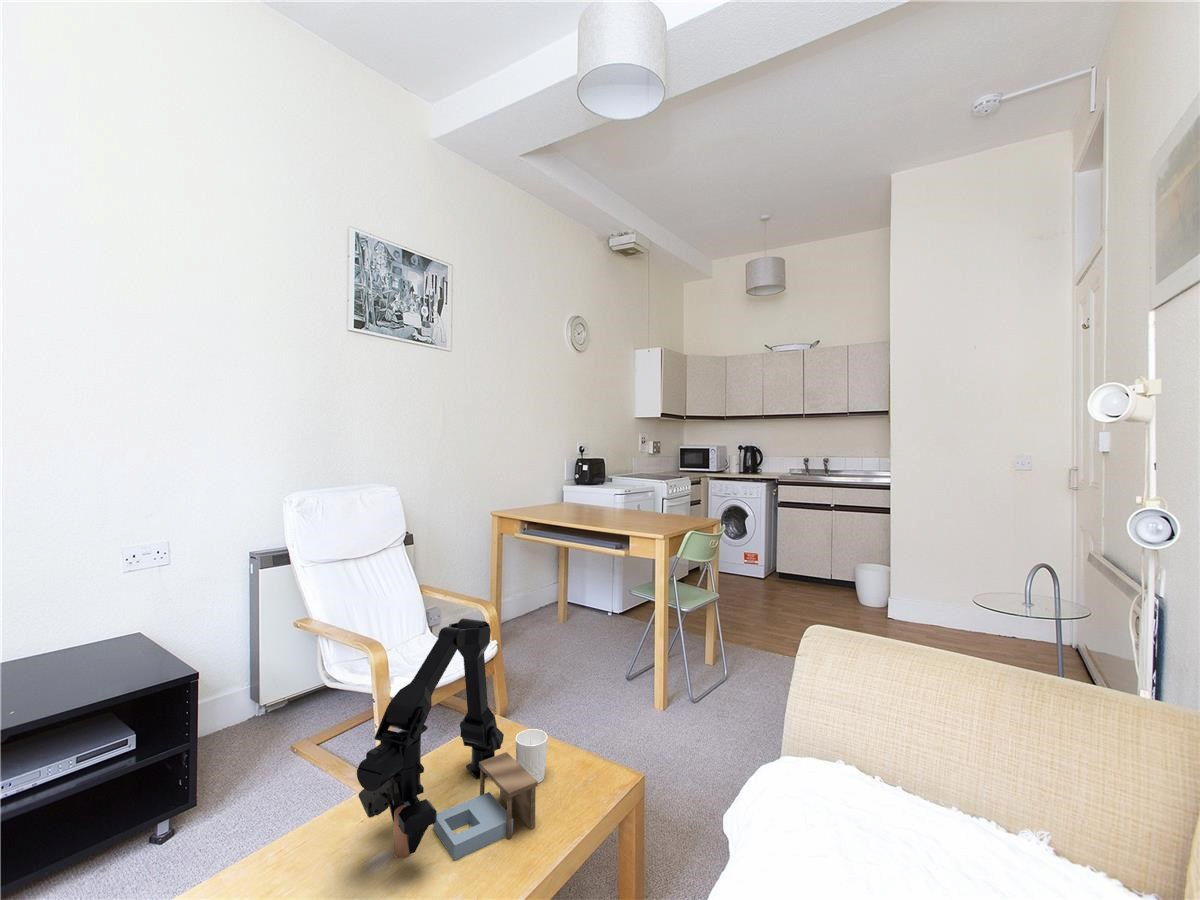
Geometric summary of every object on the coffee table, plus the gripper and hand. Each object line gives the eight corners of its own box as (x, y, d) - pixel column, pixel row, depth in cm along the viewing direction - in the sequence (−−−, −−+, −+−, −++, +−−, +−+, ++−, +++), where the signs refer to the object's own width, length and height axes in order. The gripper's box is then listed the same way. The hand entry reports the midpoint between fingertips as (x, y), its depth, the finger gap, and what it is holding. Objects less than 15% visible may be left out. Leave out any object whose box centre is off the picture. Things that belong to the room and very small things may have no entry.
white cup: (553, 777, 135) (554, 737, 135) (528, 791, 129) (529, 749, 129) (532, 764, 140) (533, 725, 140) (508, 777, 134) (508, 737, 134)
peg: (390, 849, 110) (391, 809, 110) (410, 840, 112) (411, 801, 112) (397, 861, 107) (397, 820, 107) (417, 852, 109) (418, 812, 109)
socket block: (433, 828, 116) (433, 814, 116) (489, 804, 124) (489, 791, 124) (454, 860, 107) (454, 845, 107) (513, 832, 115) (513, 818, 115)
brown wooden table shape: (478, 805, 124) (478, 762, 124) (505, 793, 128) (506, 751, 128) (507, 840, 113) (508, 793, 113) (536, 826, 117) (537, 781, 117)
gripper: (351, 753, 112) (349, 829, 112) (377, 801, 97) (376, 888, 97) (405, 737, 119) (404, 808, 119) (438, 778, 104) (436, 860, 104)
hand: (404, 839), depth 110 cm, fingers open, 9 cm apart
